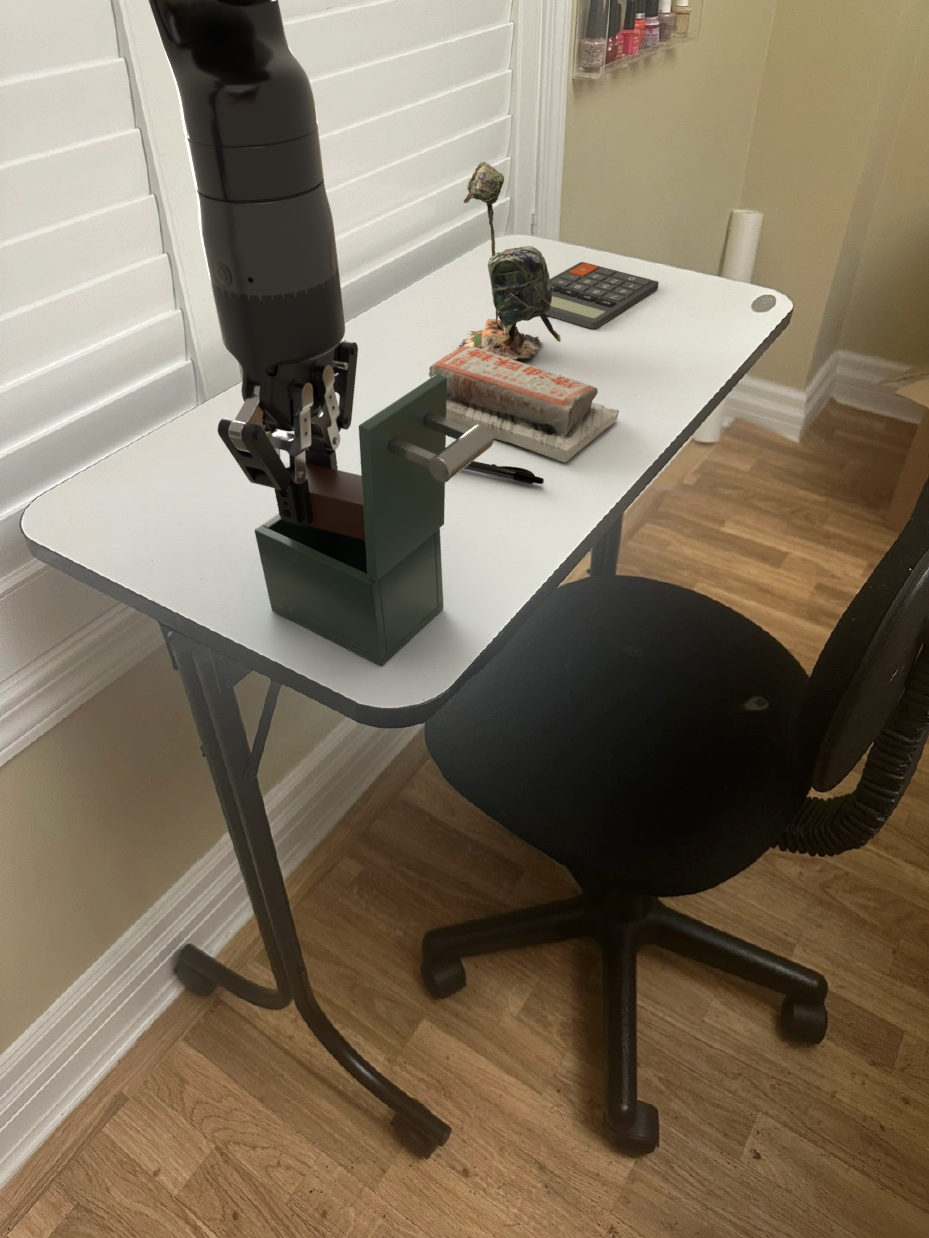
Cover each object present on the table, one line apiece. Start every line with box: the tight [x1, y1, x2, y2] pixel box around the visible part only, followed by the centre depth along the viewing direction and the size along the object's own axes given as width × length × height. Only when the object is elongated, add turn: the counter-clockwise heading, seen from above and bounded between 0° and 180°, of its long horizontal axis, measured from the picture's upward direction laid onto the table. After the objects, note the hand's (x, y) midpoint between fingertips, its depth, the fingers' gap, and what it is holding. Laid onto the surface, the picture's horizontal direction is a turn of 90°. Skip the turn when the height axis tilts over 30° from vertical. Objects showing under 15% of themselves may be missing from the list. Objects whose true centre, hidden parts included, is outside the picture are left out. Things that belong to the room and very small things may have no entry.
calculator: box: [545, 261, 660, 330], centre depth 112 cm, size 12×1×15 cm
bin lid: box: [358, 374, 494, 581], centre depth 57 cm, size 12×8×5 cm
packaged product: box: [428, 346, 620, 464], centre depth 89 cm, size 18×5×10 cm
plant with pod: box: [456, 161, 562, 360], centre depth 95 cm, size 8×11×20 cm
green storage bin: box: [254, 513, 444, 667], centre depth 67 cm, size 11×8×8 cm
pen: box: [463, 460, 545, 485], centre depth 83 cm, size 14×2×1 cm, turn 66°
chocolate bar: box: [305, 463, 365, 540], centre depth 63 cm, size 3×8×3 cm, turn 67°
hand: (312, 506), depth 64 cm, fingers closed on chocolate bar, 3 cm apart
